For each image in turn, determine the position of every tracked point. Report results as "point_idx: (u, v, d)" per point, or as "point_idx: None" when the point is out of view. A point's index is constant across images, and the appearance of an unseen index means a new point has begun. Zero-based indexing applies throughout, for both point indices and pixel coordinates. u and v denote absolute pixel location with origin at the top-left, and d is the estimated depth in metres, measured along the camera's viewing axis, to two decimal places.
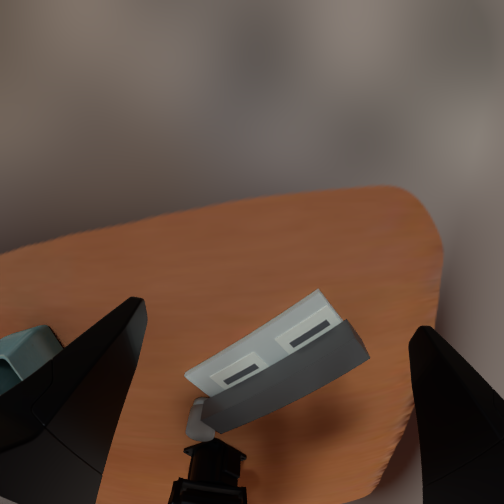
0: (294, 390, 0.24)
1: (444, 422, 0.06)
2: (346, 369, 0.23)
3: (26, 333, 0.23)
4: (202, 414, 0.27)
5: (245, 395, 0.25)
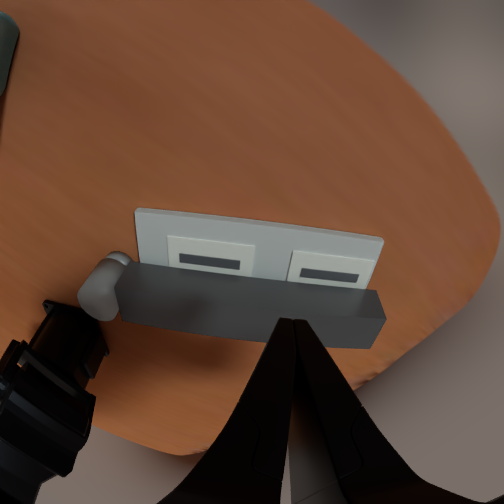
0: (272, 329, 0.18)
1: (300, 435, 0.06)
2: (341, 344, 0.19)
3: None
4: (120, 280, 0.18)
5: (205, 294, 0.18)
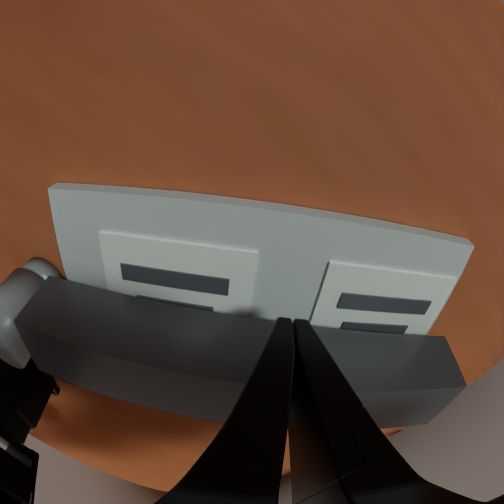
0: None
1: (301, 435, 0.06)
2: (392, 424, 0.10)
3: None
4: (26, 309, 0.08)
5: (162, 351, 0.09)
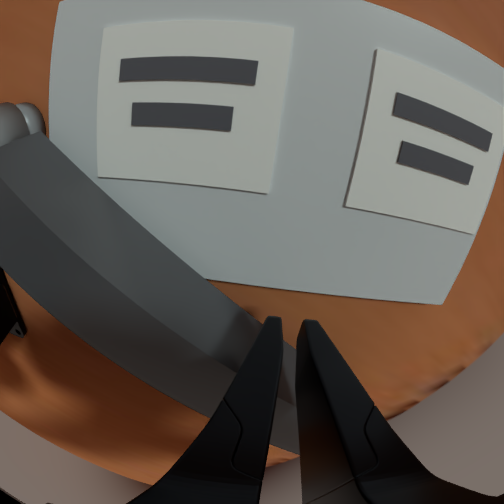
0: (210, 396, 0.09)
1: (312, 435, 0.06)
2: (283, 444, 0.11)
3: None
4: (1, 151, 0.06)
5: (135, 281, 0.07)
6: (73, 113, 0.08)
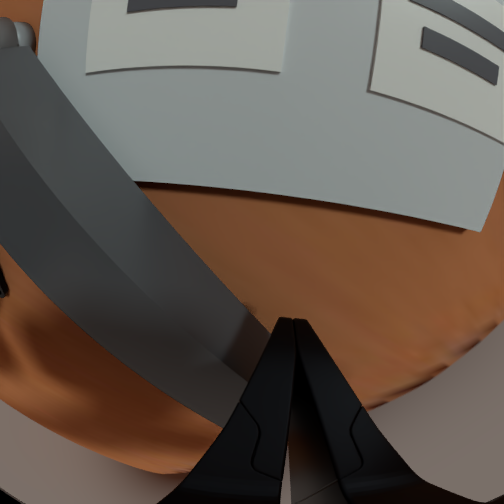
0: (156, 359, 0.08)
1: (300, 435, 0.06)
2: None
3: None
4: None
5: (88, 205, 0.06)
6: (66, 14, 0.05)
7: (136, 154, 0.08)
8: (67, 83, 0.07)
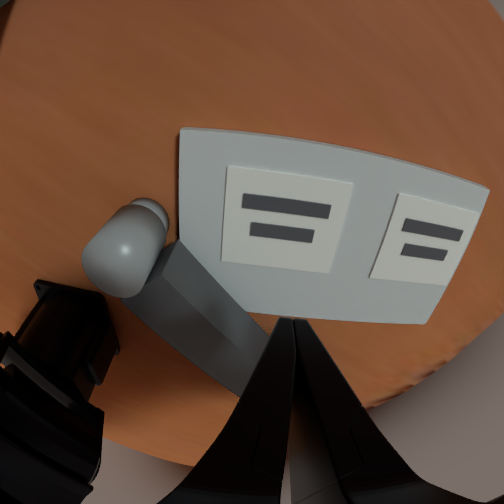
0: None
1: (300, 435, 0.06)
2: None
3: None
4: (169, 267, 0.13)
5: (244, 342, 0.15)
6: (202, 220, 0.14)
7: (249, 301, 0.17)
8: (206, 262, 0.16)
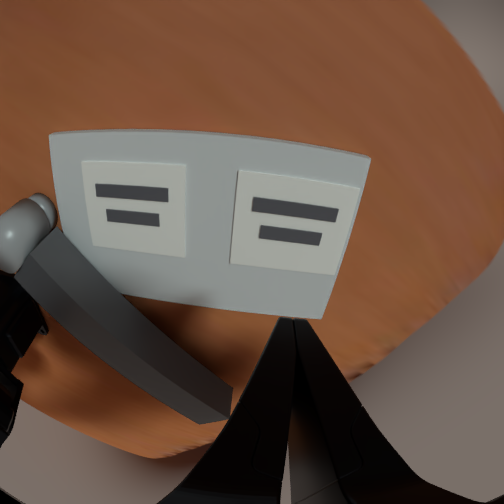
0: (141, 377, 0.17)
1: (300, 435, 0.06)
2: (182, 412, 0.19)
3: None
4: (39, 248, 0.13)
5: (109, 320, 0.15)
6: (73, 209, 0.14)
7: (125, 284, 0.17)
8: (83, 246, 0.16)
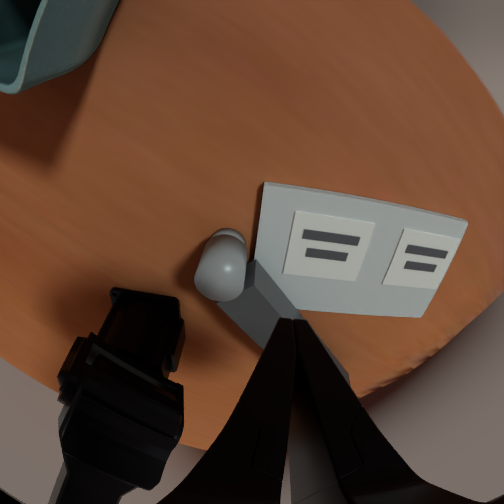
0: None
1: (300, 435, 0.06)
2: None
3: None
4: (256, 279, 0.19)
5: None
6: (273, 245, 0.21)
7: (298, 301, 0.23)
8: (271, 274, 0.22)
